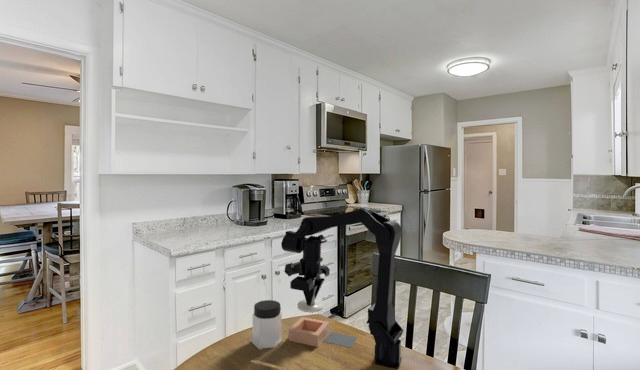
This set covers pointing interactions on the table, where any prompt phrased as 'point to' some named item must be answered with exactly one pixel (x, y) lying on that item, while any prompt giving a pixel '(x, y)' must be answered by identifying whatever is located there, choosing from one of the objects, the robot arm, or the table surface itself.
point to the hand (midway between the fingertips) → (310, 303)
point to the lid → (311, 306)
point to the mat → (341, 339)
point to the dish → (309, 331)
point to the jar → (267, 324)
